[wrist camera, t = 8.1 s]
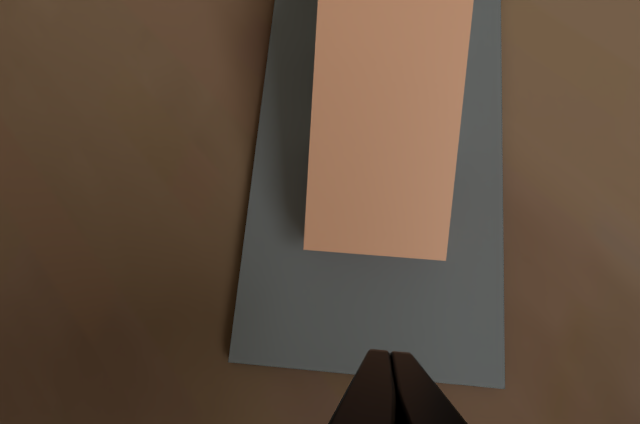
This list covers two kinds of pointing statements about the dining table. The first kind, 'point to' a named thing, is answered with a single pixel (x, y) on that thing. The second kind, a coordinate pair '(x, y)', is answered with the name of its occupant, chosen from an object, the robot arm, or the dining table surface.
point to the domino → (385, 125)
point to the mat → (371, 270)
